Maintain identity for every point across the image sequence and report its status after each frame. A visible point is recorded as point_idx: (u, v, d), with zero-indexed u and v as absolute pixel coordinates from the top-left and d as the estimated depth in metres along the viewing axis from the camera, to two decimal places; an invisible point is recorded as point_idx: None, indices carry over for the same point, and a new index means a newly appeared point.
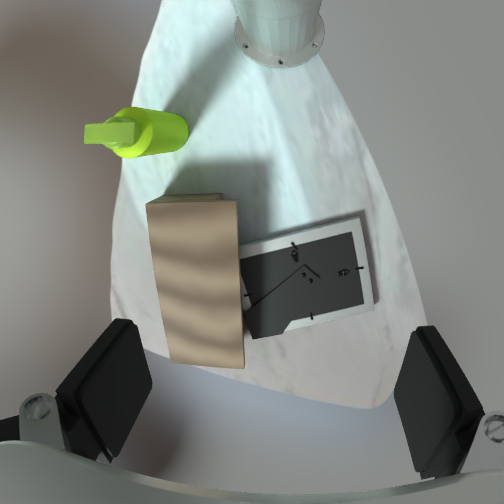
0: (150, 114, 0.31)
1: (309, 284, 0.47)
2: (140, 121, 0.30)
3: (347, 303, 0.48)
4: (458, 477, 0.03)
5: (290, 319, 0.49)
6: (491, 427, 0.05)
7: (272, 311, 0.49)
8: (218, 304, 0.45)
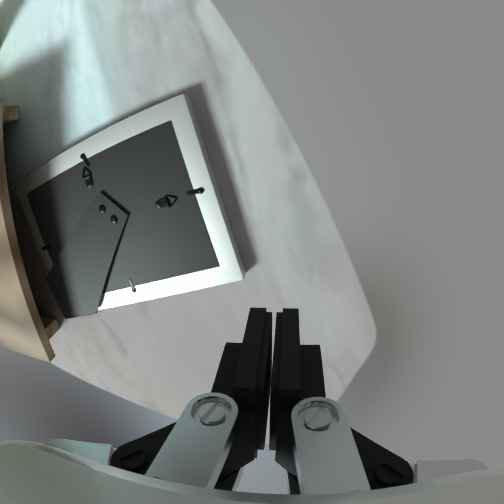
0: None
1: (113, 226, 0.25)
2: None
3: (186, 264, 0.26)
4: (458, 477, 0.03)
5: (100, 289, 0.27)
6: (308, 417, 0.06)
7: (75, 274, 0.27)
8: None
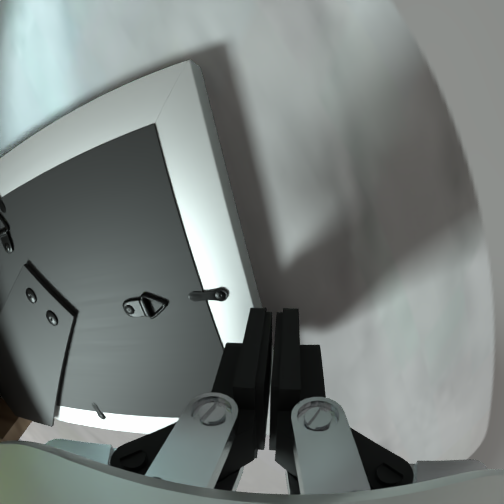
0: None
1: (52, 328, 0.12)
2: None
3: None
4: (458, 476, 0.03)
5: (51, 404, 0.14)
6: (308, 417, 0.06)
7: (13, 374, 0.14)
8: None
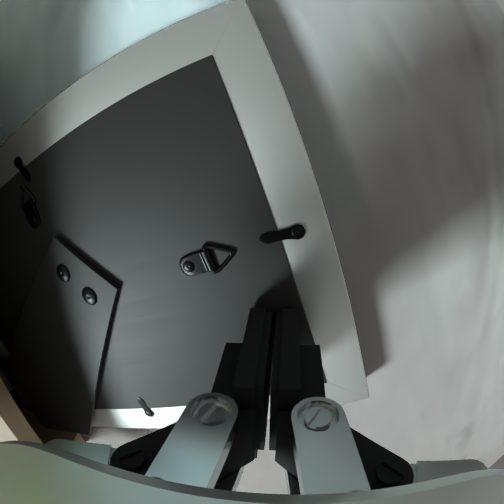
0: None
1: (90, 309, 0.11)
2: None
3: None
4: (458, 476, 0.03)
5: (88, 407, 0.13)
6: (308, 417, 0.06)
7: (42, 378, 0.13)
8: None
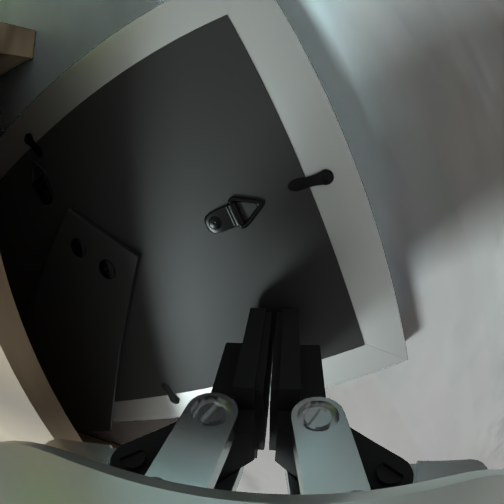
0: None
1: (108, 284, 0.11)
2: None
3: None
4: (458, 476, 0.03)
5: (108, 399, 0.13)
6: (308, 417, 0.06)
7: (58, 372, 0.13)
8: None
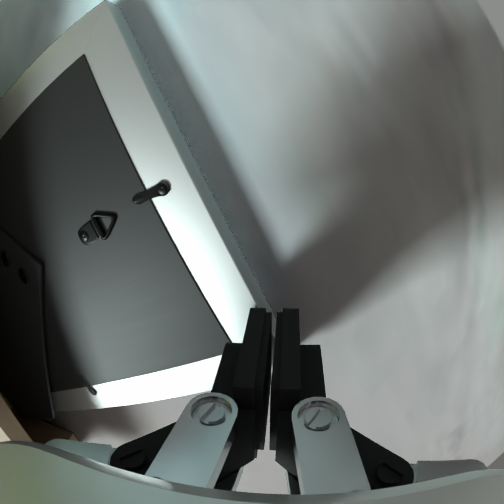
0: None
1: (26, 288, 0.11)
2: None
3: (166, 350, 0.12)
4: (458, 477, 0.03)
5: (45, 388, 0.14)
6: (308, 417, 0.06)
7: (8, 364, 0.14)
8: None
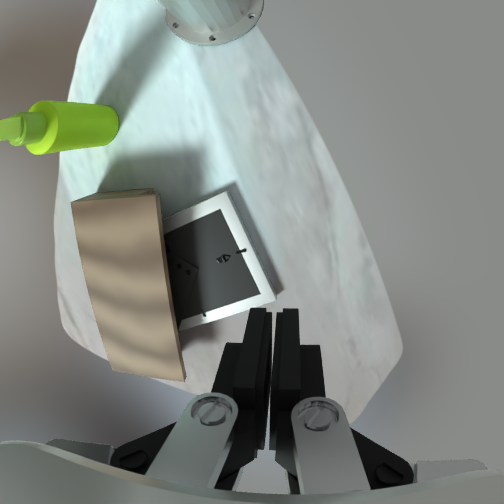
0: (58, 106, 0.25)
1: (188, 276, 0.41)
2: (47, 115, 0.24)
3: (239, 294, 0.42)
4: (458, 476, 0.03)
5: (180, 317, 0.43)
6: (308, 417, 0.06)
7: None
8: (148, 311, 0.39)
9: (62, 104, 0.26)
